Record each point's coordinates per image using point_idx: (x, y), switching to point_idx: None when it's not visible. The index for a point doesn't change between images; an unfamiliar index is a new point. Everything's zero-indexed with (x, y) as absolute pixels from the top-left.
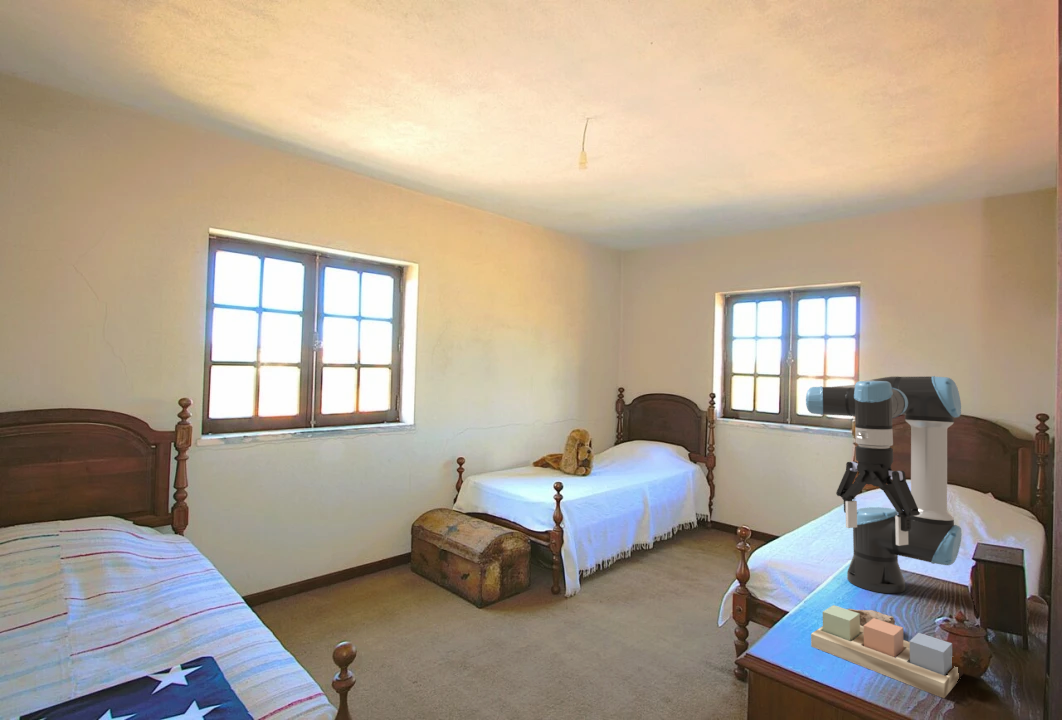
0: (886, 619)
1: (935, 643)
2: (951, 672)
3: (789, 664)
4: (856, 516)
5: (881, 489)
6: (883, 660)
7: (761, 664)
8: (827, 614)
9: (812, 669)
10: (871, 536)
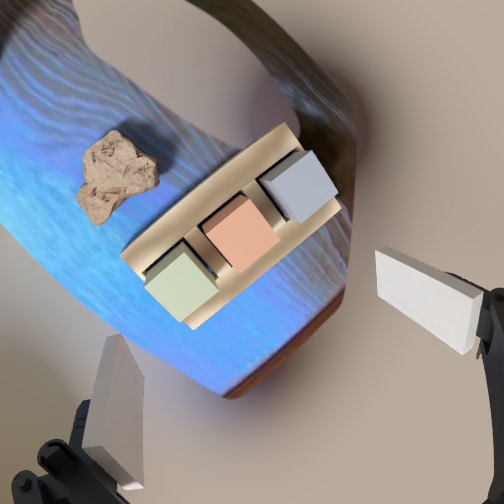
0: (150, 169)
1: (311, 182)
2: None
3: (244, 364)
4: (116, 372)
5: (491, 487)
6: (280, 257)
7: (244, 392)
8: (187, 316)
9: (257, 341)
10: None
